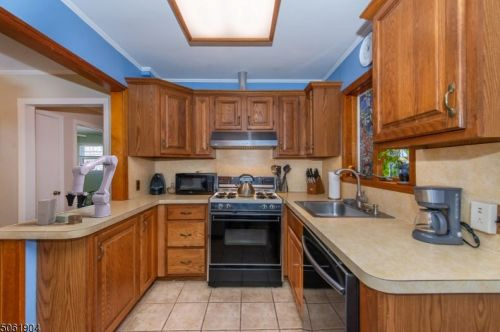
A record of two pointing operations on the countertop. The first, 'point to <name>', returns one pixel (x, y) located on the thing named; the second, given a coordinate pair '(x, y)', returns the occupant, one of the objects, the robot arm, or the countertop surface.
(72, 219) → the walnut cube
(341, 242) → the countertop surface
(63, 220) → the sage block
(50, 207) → the skincare box
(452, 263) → the countertop surface
